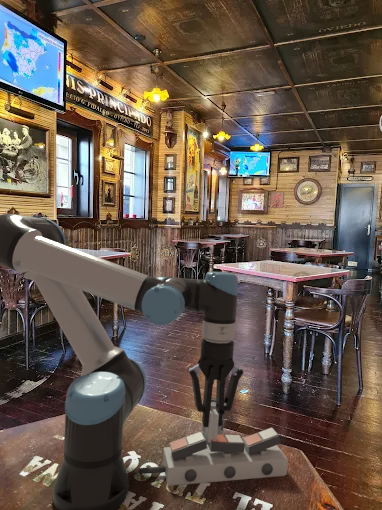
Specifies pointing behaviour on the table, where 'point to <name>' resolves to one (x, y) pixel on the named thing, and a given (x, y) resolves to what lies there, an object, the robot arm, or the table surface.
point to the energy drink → (220, 428)
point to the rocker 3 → (261, 440)
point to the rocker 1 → (188, 445)
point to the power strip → (220, 466)
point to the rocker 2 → (227, 443)
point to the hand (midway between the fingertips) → (211, 439)
